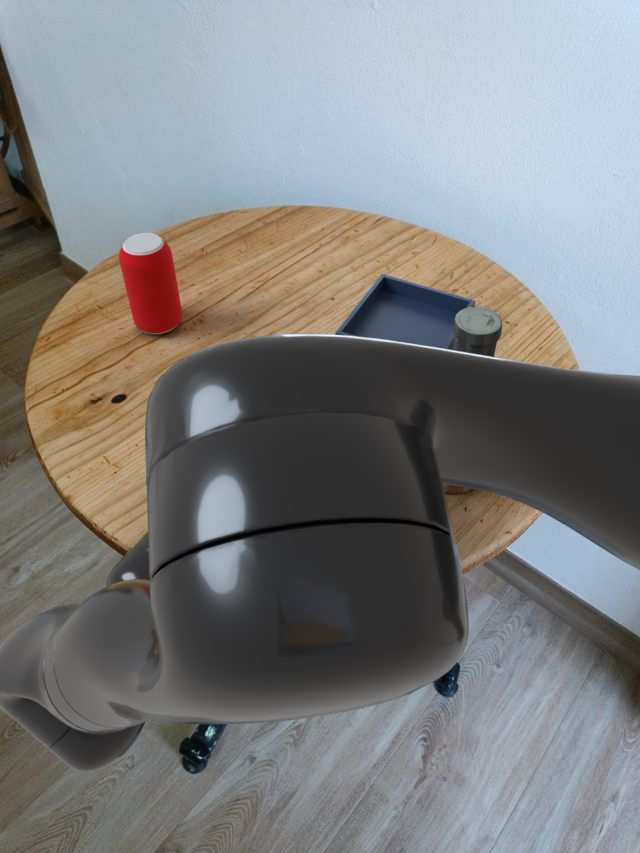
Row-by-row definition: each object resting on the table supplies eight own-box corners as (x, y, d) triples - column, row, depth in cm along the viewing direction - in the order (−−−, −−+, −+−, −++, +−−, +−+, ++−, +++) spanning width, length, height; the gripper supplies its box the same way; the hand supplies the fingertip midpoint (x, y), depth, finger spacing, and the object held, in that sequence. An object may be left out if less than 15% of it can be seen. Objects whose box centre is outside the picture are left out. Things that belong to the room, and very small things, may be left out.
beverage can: (131, 315, 90) (112, 233, 82) (178, 305, 92) (164, 224, 83) (139, 343, 86) (120, 261, 78) (188, 333, 88) (174, 251, 79)
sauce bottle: (494, 479, 72) (538, 328, 57) (448, 506, 69) (483, 356, 55) (451, 441, 75) (483, 290, 61) (407, 465, 73) (429, 314, 58)
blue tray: (472, 317, 90) (475, 300, 89) (434, 382, 82) (437, 365, 80) (380, 290, 95) (381, 273, 93) (334, 349, 86) (335, 332, 84)
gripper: (299, 524, 49) (404, 386, 59) (146, 447, 55) (266, 332, 65) (301, 579, 55) (397, 445, 65) (162, 505, 60) (270, 391, 70)
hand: (331, 389), depth 65 cm, fingers closed on pill bottle, 5 cm apart
